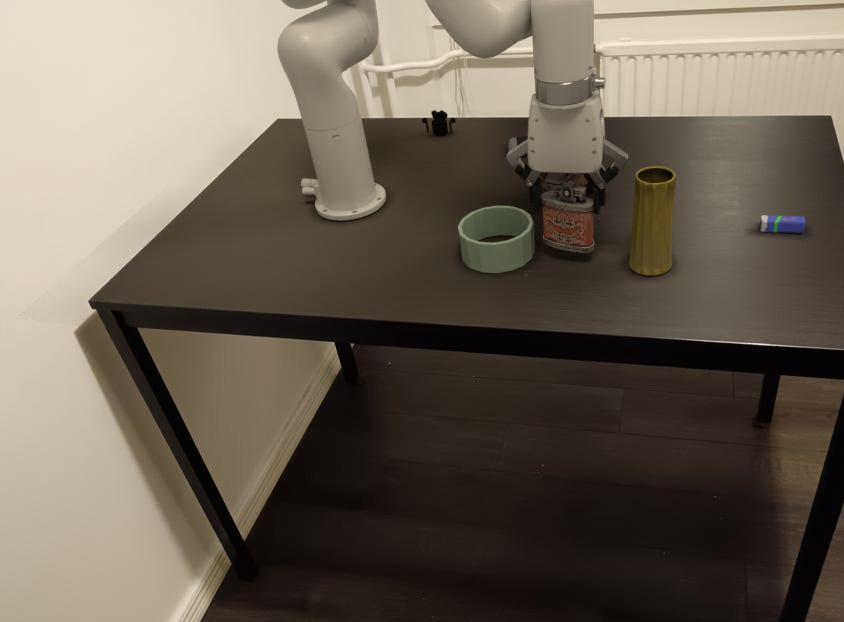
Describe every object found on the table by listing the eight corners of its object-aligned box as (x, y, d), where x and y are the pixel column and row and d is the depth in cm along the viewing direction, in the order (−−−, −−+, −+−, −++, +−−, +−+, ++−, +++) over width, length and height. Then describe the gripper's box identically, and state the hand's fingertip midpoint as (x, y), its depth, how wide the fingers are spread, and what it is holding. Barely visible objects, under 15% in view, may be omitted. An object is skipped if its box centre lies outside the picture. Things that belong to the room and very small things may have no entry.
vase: (663, 280, 106) (669, 188, 97) (621, 271, 109) (624, 181, 100) (678, 258, 110) (685, 168, 101) (638, 250, 112) (642, 161, 103)
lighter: (598, 243, 111) (598, 181, 105) (588, 255, 109) (588, 193, 102) (549, 233, 115) (546, 172, 108) (538, 244, 113) (535, 183, 106)
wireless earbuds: (423, 136, 152) (419, 112, 149) (426, 131, 154) (423, 107, 151) (456, 136, 151) (453, 112, 147) (459, 131, 152) (456, 106, 149)
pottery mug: (607, 209, 123) (584, 177, 118) (556, 231, 128) (531, 201, 122) (602, 160, 130) (580, 127, 125) (553, 182, 135) (530, 151, 129)
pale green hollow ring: (453, 270, 114) (449, 242, 111) (472, 231, 122) (469, 204, 119) (525, 275, 111) (523, 246, 108) (540, 235, 119) (539, 207, 116)
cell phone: (568, 152, 140) (568, 145, 139) (509, 158, 140) (508, 151, 139) (565, 138, 144) (565, 131, 143) (507, 144, 145) (507, 137, 144)
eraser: (759, 225, 114) (761, 214, 113) (802, 227, 112) (804, 215, 111) (759, 232, 112) (761, 220, 111) (803, 234, 111) (805, 222, 109)
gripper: (636, 75, 97) (632, 197, 108) (505, 77, 102) (514, 193, 113) (630, 98, 92) (626, 224, 103) (491, 99, 96) (502, 219, 108)
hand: (567, 207), depth 108 cm, fingers closed on lighter, 8 cm apart
